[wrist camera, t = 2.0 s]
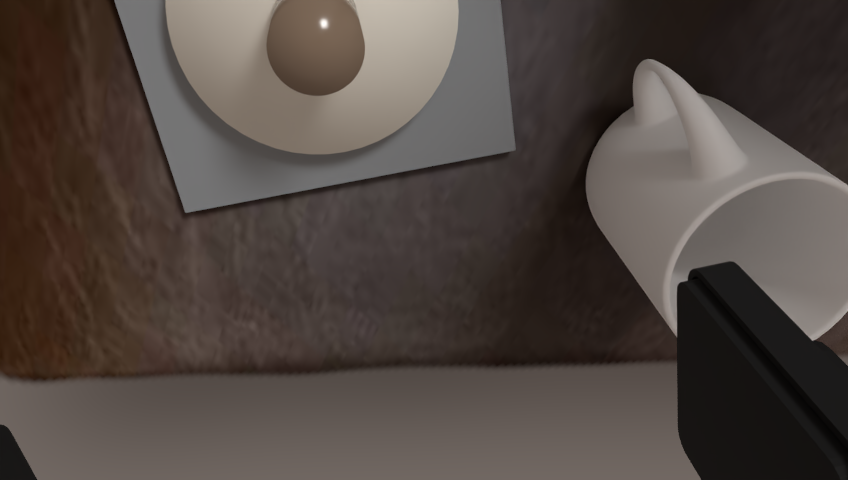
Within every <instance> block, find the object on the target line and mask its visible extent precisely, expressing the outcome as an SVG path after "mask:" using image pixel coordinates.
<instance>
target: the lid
mask: <svg viewBox="0 0 848 480" xmlns="http://www.w3.org/2000/svg"><path fill="white" fill-rule="evenodd" d="M165 8H166V17H167V26H168V31H169V35H170V39H171V43H172V47H173V49H174V52H175V54H176V57H177V60H178V62H179V65H180V66H181V68H182V70H183V72H184V74H185V76H186V78H187V80H188V81H189V83H190V84H191V86H192V87H193V88H194V90H195V91H196V93H197V94H198V96H199V97H200V98H201V99H202V100H203V101H204V102H205V104H206V105H207V106H208V107H209V108H210V109H211V110H212V111H213V112H214V113H215V114H216V115H217V116H219V117H220V118H221V119H222V120H223V121H224V122H226V123H227V124H228V125H230V126H231V127H233V128H234V129H236V130H237V131H239V132H240V133H242V134H243V135H245V136H247V137H249V138H251V139H253V140H255V141H257V142H259V143H262V144H265V145H268V146H270V147H273V148H276V149H280V150H284V151H289V152H293V153H302V154H334V153H341V152H347V151H351V150H355V149H359V148H362V147H365V146H367V145H370V144H372V143H375V142H377V141H379V140H381V139H383V138H385V137H387V136H389V135H390V134H392V133H394V132H395V131H397V130H398V129H399V128H401V127H402V126H404V125H405V124H406V123H408V122H409V121H410V120H411V119H412V118H413V117H414V116H415V115H416V114H417V113H418V112H419V111H420V110H421V109H422V108H423V107H424V105H425V104H426V103H427V102H428V101H429V99H430V98H431V97H432V95H433V94H434V92H435V91H436V89H437V88H438V86H439V84H440V83H441V81H442V79H443V77H444V75H445V72H446V70H447V68H448V66H449V63H450V60H451V57H452V54H453V51H454V47H455V41H456V36H457V31H458V15H459V9H458V0H166V1H165Z"/></svg>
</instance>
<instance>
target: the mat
mask: <svg viewBox="0 0 848 480" xmlns="http://www.w3.org/2000/svg"><path fill="white" fill-rule="evenodd" d="M114 1H115V4H116V7H117V10H118V13H119V16H120V19H121V22H122V25H123V28H124V31H125V34H126V37H127V40H128V43H129V46H130V49H131V52H132V55H133V58H134V61H135V64H136V67H137V70H138V73H139V76H140V79H141V82H142V85H143V88H144V91H145V94H146V97H147V100H148V103H149V106H150V109H151V112H152V115H153V118H154V121H155V124H156V127H157V130H158V133H159V136H160V139H161V142H162V145H163V148H164V151H165V154H166V157H167V160H168V163H169V166H170V169H171V172H172V175H173V177H174V180H175V183H176V186H177V189H178V192H179V195H180V198H181V201H182V204H183V207H184V210H185V213H188V212H193V211H199V210H204V209H209V208H215V207H220V206H225V205H230V204H236V203H241V202H246V201H251V200H257V199H262V198H267V197H273V196H278V195H283V194H288V193H294V192H299V191H304V190H309V189H315V188H320V187H325V186H331V185H336V184H341V183H346V182H352V181H357V180H362V179H367V178H373V177H378V176H383V175H389V174H394V173H399V172H404V171H410V170H415V169H420V168H425V167H431V166H436V165H441V164H447V163H452V162H457V161H462V160H468V159H473V158H478V157H483V156H489V155H494V154H499V153H505V152H510V151H515V150H516V148H515V138H514V128H513V118H512V108H511V99H510V89H509V79H508V69H507V59H506V49H505V40H504V30H503V20H502V10H501V0H458V9H459V15H458V31H457V36H456V41H455V47H454V51H453V54H452V57H451V60H450V63H449V66H448V68H447V70H446V72H445V75H444V77H443V79H442V81H441V83H440V84H439V86H438V88H437V89H436V91H435V92H434V94H433V95H432V97H431V98H430V99H429V101H428V102H427V103H426V104H425V105H424V107H423V108H422V109H421V110H420V111H419V112H418V113H417V114H416V115H415V116H414V117H413V118H412V119H411V120H410V121H409V122H408V123H406V124H405V125H404V126H402V127H401V128H399V129H398V130H397V131H395V132H394V133H392V134H390V135H389V136H387V137H385V138H383V139H381V140H379V141H377V142H375V143H372V144H370V145H367V146H365V147H362V148H359V149H355V150H351V151H347V152H341V153H334V154H302V153H293V152H289V151H284V150H280V149H276V148H273V147H270V146H268V145H265V144H262V143H259V142H257V141H255V140H253V139H251V138H249V137H247V136H245V135H243V134H242V133H240V132H239V131H237V130H236V129H234V128H233V127H231V126H230V125H228V124H227V123H226V122H224V121H223V120H222V119H221V118H220V117H219V116H217V115H216V114H215V113H214V112H213V111H212V110H211V109H210V108H209V107H208V106H207V105H206V104H205V102H204V101H203V100H202V99H201V98H200V97H199V96H198V94H197V93H196V91H195V90H194V88H193V87H192V86H191V84H190V83H189V81H188V80H187V78H186V76H185V74H184V72H183V70H182V68H181V66H180V65H179V62H178V60H177V57H176V54H175V52H174V49H173V47H172V43H171V39H170V35H169V31H168V26H167V17H166V8H165V1H166V0H114Z"/></svg>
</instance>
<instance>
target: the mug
mask: <svg viewBox="0 0 848 480" xmlns="http://www.w3.org/2000/svg"><path fill="white" fill-rule="evenodd" d="M633 103H634V106H633V107H631V108H630V109H629V110H627V111H626V112H625V113H623V114H622V115H621V116H620V117H618V118H617V119H616V120H615V121H614V122H613V123H612V124H611V125H610V126H609V127H608V129H607V130H606V131H605V132H604V134H603V135H602V137H601V138H600V139H599V141H598V143H597V145H596V147H595V148H594V150H593V153H592V155H591V158H590V160H589V164H588V168H587V174H586V195H587V201H588V204H589V208H590V211H591V213H592V215H593V217H594V219H595V221H596V223H597V225H598V227H599V228H600V230H601V231H602V233H603V234H604V235H605V237H606V238H607V240H608V241H609V242H610V244H611V245H612V247H613V248H614V249H615V251H616V252H617V254H618V255H619V257H620V258H621V259H622V261H623V262H624V264H625V265H626V266H627V268H628V269H629V271H630V272H631V273H632V275H633V276H634V278H635V279H636V281H637V282H638V283H639V285H640V286H641V288H642V289H643V290H644V292H645V293H646V295H647V296H648V298H649V299H650V300H651V302H652V303H653V305H654V306H655V307H656V309H657V310H658V312H659V313H660V314H661V316H662V317H663V319H664V320H665V322H666V323H667V324H668V326H669V327H670V329H671V330H672V331H673V333H674V334H675V336H676V337H677V286H678V284H679V283H680V282H684V281H688V275H689V272H690V271H691V270H692V269H695V268H700V267H705V266H709V265H714V264H719V263H724V262H728V261H732V262H735V263H736V264H737V265H739V266H740V267H741V268H742V269H743V270H744V271H745V272H746V273H747V274H748V275H749V277H750V278H751V279H752V280H753V281H754V282H755V283H756V284H757V285H758V286H759V287H760V288H761V289H762V290H763V291H764V292H765V293H766V294H767V295H768V296H769V297H770V298H771V299H772V300H773V301H774V302H775V303H776V304H777V305H778V306H779V307H780V308H781V309H782V310H783V311H784V312H785V313H786V314H787V315H788V316H789V317H790V318H791V319H792V320H793V321H794V322H795V323H796V324H797V325H798V326H799V328H800V329H801V330H802V331H803V332H804V333H805V334H806V335H807V336H808V337H809V338H810V339H811V340H812V341H813V340H816V339H817V338H818V337H820V336H821V335H823V334H824V333H825V332H827V331H828V330H829V329H830V328H831V327H832V326H834V325H835V324H836V323H837V322H838V321H839V320H840V319H841V318H842V317H843V316H844V315H845V314H846V312H847V311H848V185H847V184H845V183H844V182H842V181H841V180H839V179H838V178H836V177H835V176H833V175H832V174H830V173H829V172H828V171H826V170H825V169H823V168H822V167H820V166H819V165H817V164H816V163H814V162H813V161H811V160H810V159H808V158H807V157H805V156H804V155H802V154H801V153H799V152H798V151H796V150H795V149H793V148H792V147H790V146H789V145H787V144H786V143H784V142H783V141H781V140H780V139H778V138H777V137H775V136H774V135H773V134H771V133H770V132H768V131H767V130H765V129H764V128H762V127H761V126H759V125H758V124H756V123H755V122H753V121H752V120H750V119H749V118H747V117H746V116H744V115H743V114H741V113H740V112H738V111H737V110H735V109H734V108H732V107H730V106H729V105H727V104H726V103H724V102H722V101H720V100H717V99H715V98H713V97H710V96H706V95H703V94H699V93H697V92H696V91H695V90H694V89H693V88H692V87H691V86H690V85H689V84H688V83H687V82H686V81H685V80H684V79H683V78H682V77H680V76H679V75H678V74H677V73H675V72H674V71H673V70H671V69H670V68H668V67H667V66H665V65H663V64H661V63H660V62H658V61H655V60H653V59H646V60H643V61H642V62H641V63H640V64H639V65H638V66H637V68H636V71H635V74H634V79H633Z"/></svg>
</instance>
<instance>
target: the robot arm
mask: <svg viewBox="0 0 848 480" xmlns="http://www.w3.org/2000/svg"><path fill="white" fill-rule="evenodd" d="M677 375H678V376H677V378H678V380H677V381H678V382H677V383H678V432H679V437H680V440H681V444H682V446H683V449H684V451H685V453H686V454H687V456H688V458H689V460H690V461H691V463H692V465H693V466H694V468H695V470H696V471H697V473H698V475H699V476H700V478H701V480H848V366H847V365H846V364H845V363H844V362H843V361H842V360H841V359H840V358H839V357H838V356H837V355H836V354H835V353H834V352H833V351H832V350H831V349H830V348H829V347H827V346H826V345H825V344H823V343H822V342H818V341H815V340H813V341H812V340H811V339H810V338H809V337H808V336H807V335H806V334H805V333H804V332H803V331H802V330H801V329H800V328H799V326H798V325H797V324H796V323H795V322H794V321H793V320H792V319H791V318H790V317H789V316H788V315H787V314H786V313H785V312H784V311H783V310H782V309H781V308H780V307H779V306H778V305H777V304H776V303H775V302H774V301H773V300H772V299H771V298H770V297H769V296H768V295H767V294H766V293H765V292H764V291H763V290H762V289H761V288H760V287H759V286H758V285H757V284H756V283H755V282H754V281H753V280H752V279H751V278H750V277H749V275H748V274H747V273H746V272H745V271H744V270H743V269H742V268H741V267H740V266H739V265H737V264H736V263H735V262H732V261H728V262H724V263H719V264H714V265H709V266H705V267H700V268H695V269H692V270H691V271H690V272H689V275H688V281H684V282H680V283H679V284H678V286H677ZM0 480H37V479H36V477H35V475H34V473H33V472H32V470H31V468H30V466H29V464H28V462H27V460H26V459H25V457H24V455H23V453H22V451H21V450H20V448H19V446H18V444H17V442H16V441H15V439H14V437H13V435H12V433H11V432H10V430H9V429H8V428H7V427H6V426H4V425H0Z"/></svg>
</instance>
